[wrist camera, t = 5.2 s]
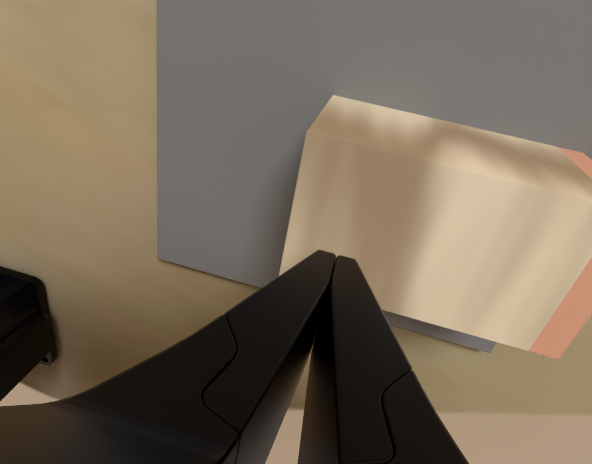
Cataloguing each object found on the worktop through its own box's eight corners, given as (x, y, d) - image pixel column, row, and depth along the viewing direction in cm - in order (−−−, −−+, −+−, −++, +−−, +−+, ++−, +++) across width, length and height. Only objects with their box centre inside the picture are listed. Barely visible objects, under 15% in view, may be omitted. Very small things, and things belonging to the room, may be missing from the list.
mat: (163, 252, 19) (157, 258, 19) (164, -98, 12) (156, -102, 12) (487, 344, 18) (490, 353, 17) (691, 2, 11) (702, 2, 10)
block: (277, 280, 12) (558, 359, 11) (306, 132, 10) (662, 218, 9) (307, 212, 16) (517, 268, 15) (333, 94, 13) (583, 152, 13)
